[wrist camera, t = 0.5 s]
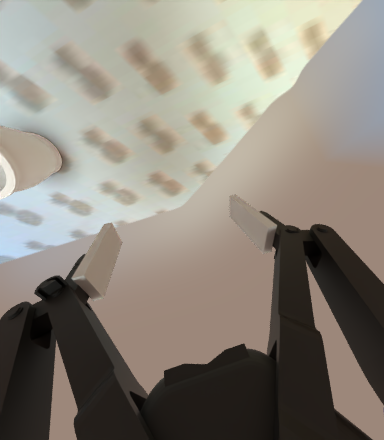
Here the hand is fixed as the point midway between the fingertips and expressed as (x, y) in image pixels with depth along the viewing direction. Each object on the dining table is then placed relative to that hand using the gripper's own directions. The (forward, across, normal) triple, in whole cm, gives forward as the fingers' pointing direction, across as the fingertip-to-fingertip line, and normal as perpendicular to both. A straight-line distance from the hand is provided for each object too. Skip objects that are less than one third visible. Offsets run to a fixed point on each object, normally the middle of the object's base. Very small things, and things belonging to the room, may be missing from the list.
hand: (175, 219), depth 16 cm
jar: (+28, -27, +8) cm, 40 cm away
